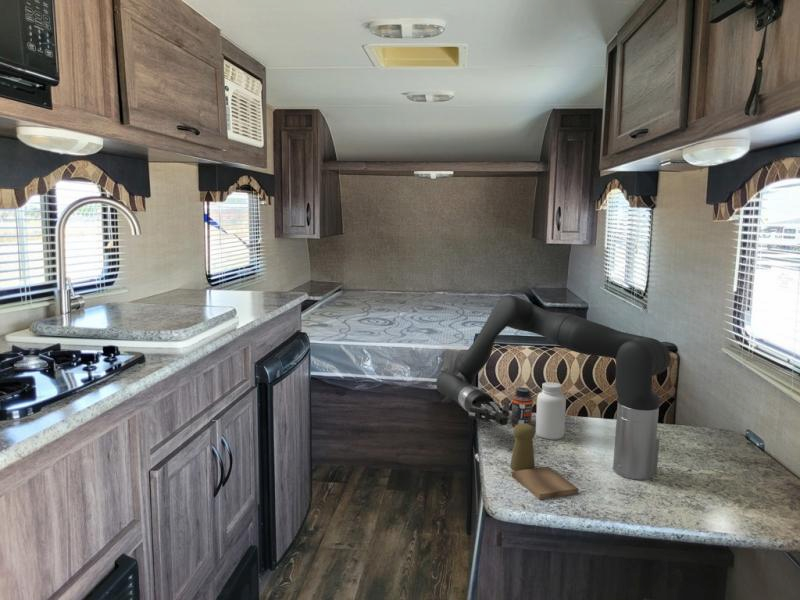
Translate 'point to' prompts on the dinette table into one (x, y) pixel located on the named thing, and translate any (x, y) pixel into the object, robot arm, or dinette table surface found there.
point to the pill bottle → (550, 412)
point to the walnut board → (544, 482)
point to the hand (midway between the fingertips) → (505, 421)
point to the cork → (523, 448)
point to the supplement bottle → (521, 407)
